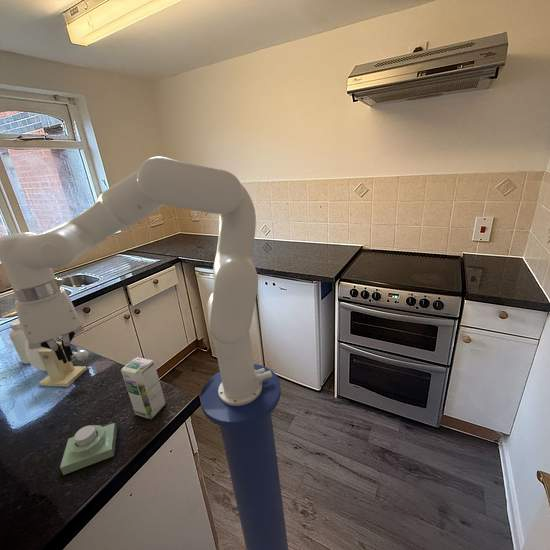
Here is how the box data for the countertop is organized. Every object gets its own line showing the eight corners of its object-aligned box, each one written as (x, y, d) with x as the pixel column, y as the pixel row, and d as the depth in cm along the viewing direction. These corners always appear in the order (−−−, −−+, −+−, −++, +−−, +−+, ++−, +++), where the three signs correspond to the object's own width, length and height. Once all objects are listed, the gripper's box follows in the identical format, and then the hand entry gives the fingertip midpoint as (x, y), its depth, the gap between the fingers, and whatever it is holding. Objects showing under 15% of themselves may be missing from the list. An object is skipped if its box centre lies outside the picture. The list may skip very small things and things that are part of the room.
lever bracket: (87, 369, 98) (75, 339, 94) (67, 386, 91) (53, 354, 87) (61, 368, 100) (48, 338, 96) (40, 385, 93) (25, 354, 88)
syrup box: (134, 415, 78) (118, 370, 73) (150, 398, 83) (137, 355, 78) (151, 420, 76) (136, 374, 70) (167, 403, 81) (154, 359, 75)
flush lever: (92, 357, 92) (89, 348, 91) (84, 363, 89) (82, 354, 88) (54, 351, 94) (52, 343, 93) (45, 358, 91) (43, 349, 90)
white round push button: (98, 429, 70) (95, 422, 69) (95, 442, 67) (92, 436, 66) (79, 435, 69) (76, 429, 68) (75, 450, 65) (72, 443, 65)
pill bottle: (45, 359, 106) (29, 323, 100) (18, 367, 103) (0, 329, 98) (51, 348, 113) (36, 313, 107) (26, 354, 110) (9, 319, 105)
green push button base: (117, 429, 74) (112, 417, 73) (114, 456, 67) (109, 443, 66) (71, 445, 71) (65, 432, 69) (63, 475, 64) (56, 462, 62)
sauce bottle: (29, 376, 98) (6, 328, 91) (49, 361, 105) (29, 316, 98) (49, 377, 96) (27, 329, 90) (68, 361, 103) (49, 316, 97)
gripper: (74, 276, 72) (97, 340, 78) (-7, 297, 63) (27, 368, 70) (80, 283, 66) (104, 352, 73) (-8, 308, 58) (29, 383, 64)
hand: (67, 359), depth 71 cm, fingers closed
